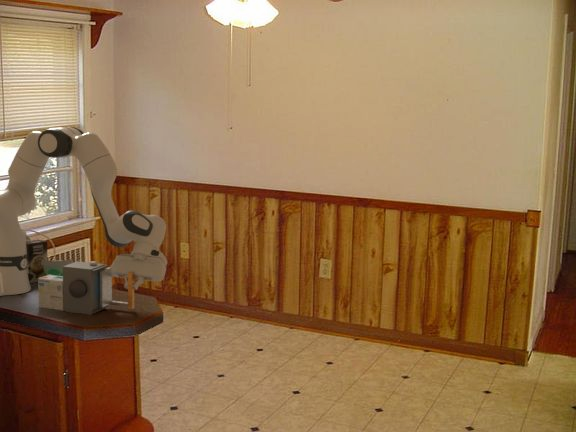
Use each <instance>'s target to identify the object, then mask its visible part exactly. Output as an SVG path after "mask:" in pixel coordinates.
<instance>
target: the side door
mask: <svg viewBox="0 0 576 432" xmlns="http://www.w3.org/2000/svg"><path fill="white" fill-rule="evenodd" d="M112 278H113V276H112V267H111V266H108V267H107V268H105V269H103V270H101V271H100V307H101V308H103V307H105V306H107V305H108V306H109V305H112V306H121V307H127V309H128V310H133V309H135V289H133V288H132V285H133V283H135V279H134V272H131V271H130V272H128V289H127V301H121V300H120V301H117V300H113V279H112Z"/></svg>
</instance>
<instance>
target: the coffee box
mask: <svg viewBox="0 0 576 432" xmlns="http://www.w3.org/2000/svg"><path fill="white" fill-rule="evenodd" d="M26 253H27V274H28V279H29V283H30V284H32V283H38V278H40V277H44V269H43V265H41V262H42V259H43V260H45V261H48V241H47V240H42V239H41V240H40V239H34V240H31V241H26Z"/></svg>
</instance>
